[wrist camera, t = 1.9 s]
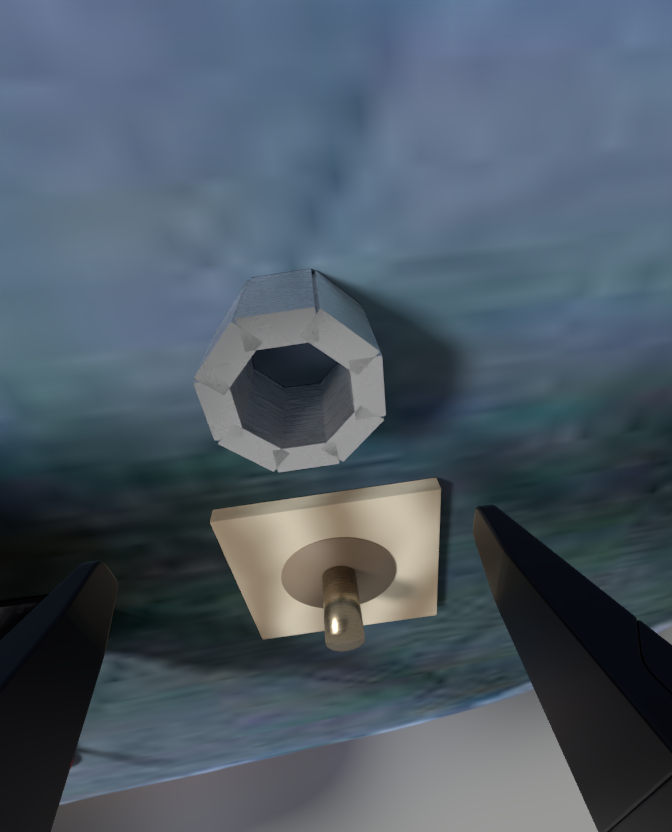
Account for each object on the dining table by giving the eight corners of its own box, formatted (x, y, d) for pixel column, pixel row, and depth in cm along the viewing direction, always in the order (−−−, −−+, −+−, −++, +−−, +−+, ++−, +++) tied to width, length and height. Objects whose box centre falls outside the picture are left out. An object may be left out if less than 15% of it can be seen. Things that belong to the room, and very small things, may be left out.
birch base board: (263, 627, 32) (262, 640, 32) (212, 509, 25) (209, 523, 24) (432, 602, 32) (436, 616, 32) (436, 477, 25) (441, 490, 24)
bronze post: (324, 587, 28) (328, 653, 25) (319, 567, 27) (322, 633, 23) (357, 582, 28) (366, 648, 25) (354, 562, 27) (363, 628, 23)
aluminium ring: (243, 414, 21) (229, 479, 17) (203, 284, 17) (172, 327, 13) (370, 395, 21) (388, 456, 17) (359, 261, 17) (378, 297, 13)
